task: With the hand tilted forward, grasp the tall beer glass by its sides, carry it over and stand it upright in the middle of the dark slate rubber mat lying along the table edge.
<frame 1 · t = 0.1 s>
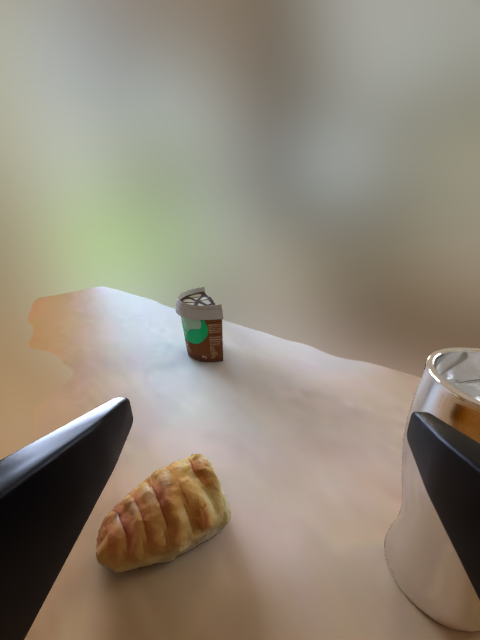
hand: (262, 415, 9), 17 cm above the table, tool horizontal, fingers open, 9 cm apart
pastry: (175, 522, 22), on the table
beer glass: (433, 570, 18), on the table
food container: (198, 352, 48), on the table
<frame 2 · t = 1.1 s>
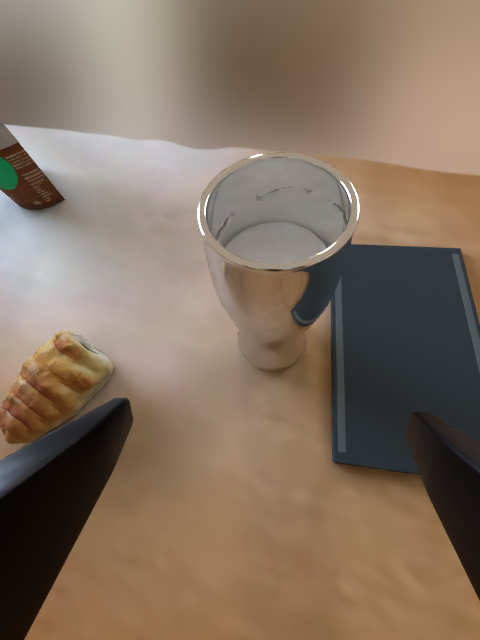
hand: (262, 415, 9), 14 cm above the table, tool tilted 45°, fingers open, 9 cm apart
pastry: (71, 385, 25), on the table
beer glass: (271, 338, 25), on the table
mat: (403, 342, 23), on the table
food container: (30, 196, 37), on the table
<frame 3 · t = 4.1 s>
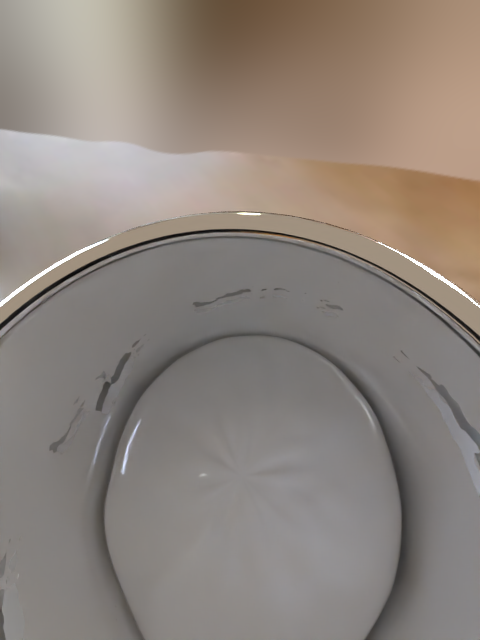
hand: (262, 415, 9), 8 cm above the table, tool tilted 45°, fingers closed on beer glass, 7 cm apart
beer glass: (267, 457, 16), on the table, touching gripper
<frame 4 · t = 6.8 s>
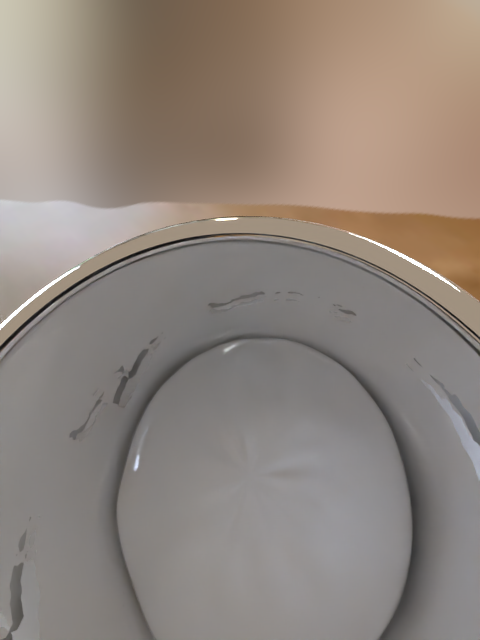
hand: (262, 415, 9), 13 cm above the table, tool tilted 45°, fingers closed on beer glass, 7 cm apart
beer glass: (279, 463, 16), point 5 cm above the table, touching gripper
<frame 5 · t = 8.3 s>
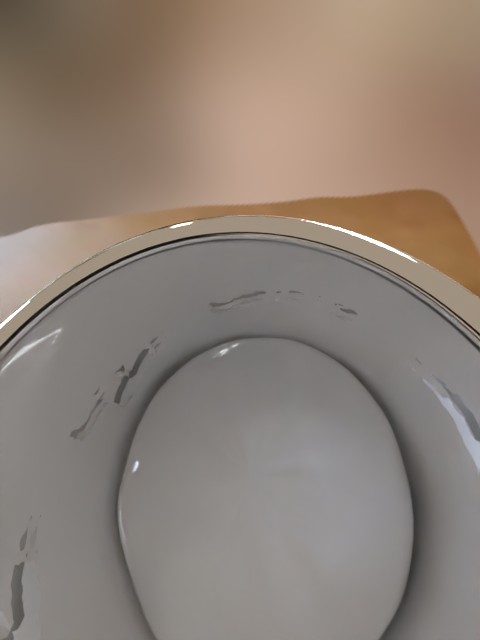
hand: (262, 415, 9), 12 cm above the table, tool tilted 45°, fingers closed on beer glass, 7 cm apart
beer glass: (279, 462, 16), point 3 cm above the table, touching gripper
when the fingers open (9 cm above the table, at t = 9.6 s): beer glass stays where it is, resting on mat.
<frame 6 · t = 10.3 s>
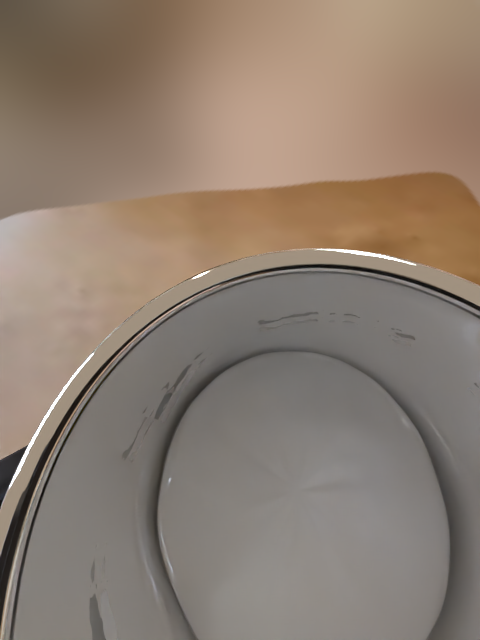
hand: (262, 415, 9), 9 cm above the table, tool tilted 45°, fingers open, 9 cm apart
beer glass: (279, 466, 16), resting on mat, touching gripper
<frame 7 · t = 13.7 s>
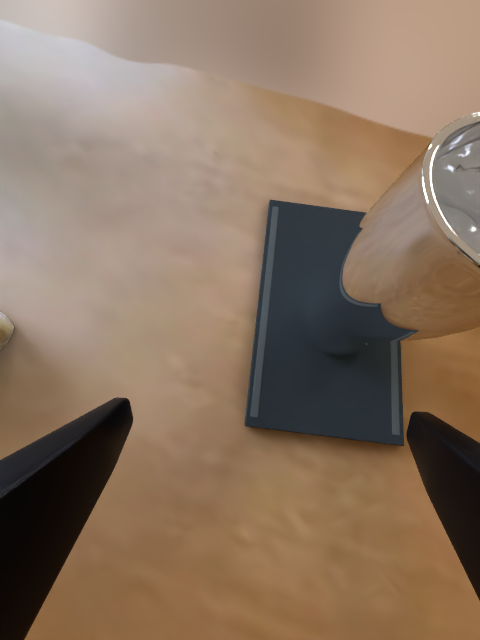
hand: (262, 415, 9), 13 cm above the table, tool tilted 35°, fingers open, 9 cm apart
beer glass: (336, 320, 23), resting on mat
mat: (327, 310, 23), on the table
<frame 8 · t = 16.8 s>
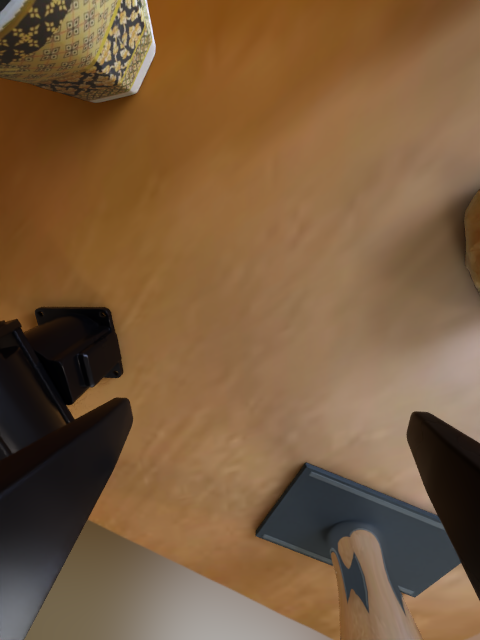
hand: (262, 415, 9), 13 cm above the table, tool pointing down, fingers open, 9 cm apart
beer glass: (354, 536, 29), resting on mat
ceramic cup: (80, 18, 16), on the table
mat: (364, 533, 29), on the table
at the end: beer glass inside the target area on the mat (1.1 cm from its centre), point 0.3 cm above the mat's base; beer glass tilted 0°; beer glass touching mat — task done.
